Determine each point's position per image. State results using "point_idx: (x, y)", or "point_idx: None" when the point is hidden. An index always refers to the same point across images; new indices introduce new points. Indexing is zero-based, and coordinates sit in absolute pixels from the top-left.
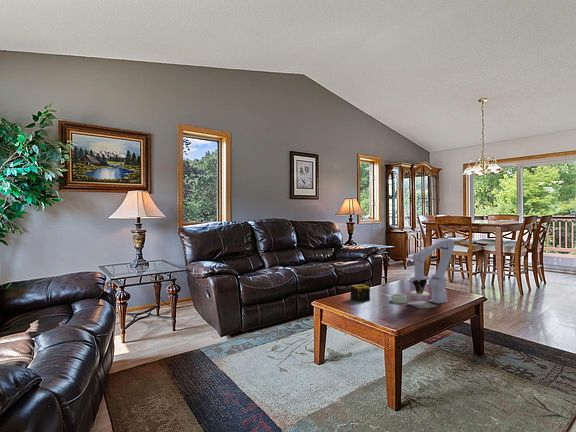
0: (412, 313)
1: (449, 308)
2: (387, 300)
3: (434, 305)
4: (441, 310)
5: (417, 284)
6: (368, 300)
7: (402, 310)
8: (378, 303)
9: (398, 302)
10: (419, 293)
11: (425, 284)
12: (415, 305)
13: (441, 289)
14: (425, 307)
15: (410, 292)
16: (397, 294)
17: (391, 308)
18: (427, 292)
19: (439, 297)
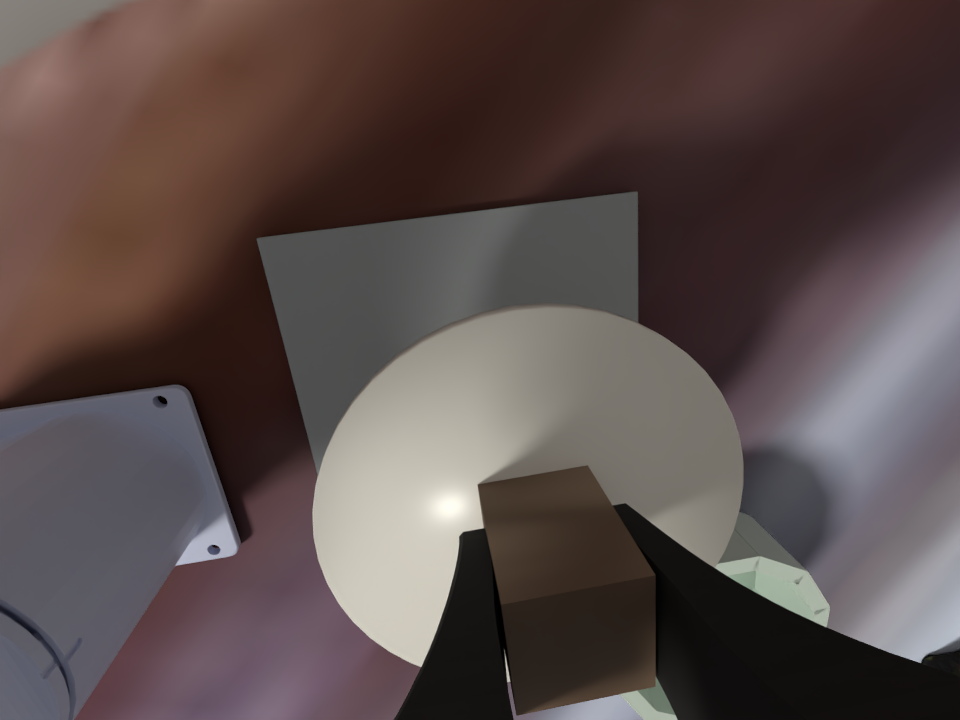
0: (907, 33)
1: (106, 82)
2: None
3: (310, 287)
4: (341, 15)
5: (852, 648)
6: (949, 659)
7: (909, 227)
8: (919, 564)
9: (746, 516)
10: (590, 470)
11: (411, 695)
12: None
13: None
14: (533, 225)
15: None
16: None
17: (956, 351)
18: (330, 522)
19: (58, 458)
